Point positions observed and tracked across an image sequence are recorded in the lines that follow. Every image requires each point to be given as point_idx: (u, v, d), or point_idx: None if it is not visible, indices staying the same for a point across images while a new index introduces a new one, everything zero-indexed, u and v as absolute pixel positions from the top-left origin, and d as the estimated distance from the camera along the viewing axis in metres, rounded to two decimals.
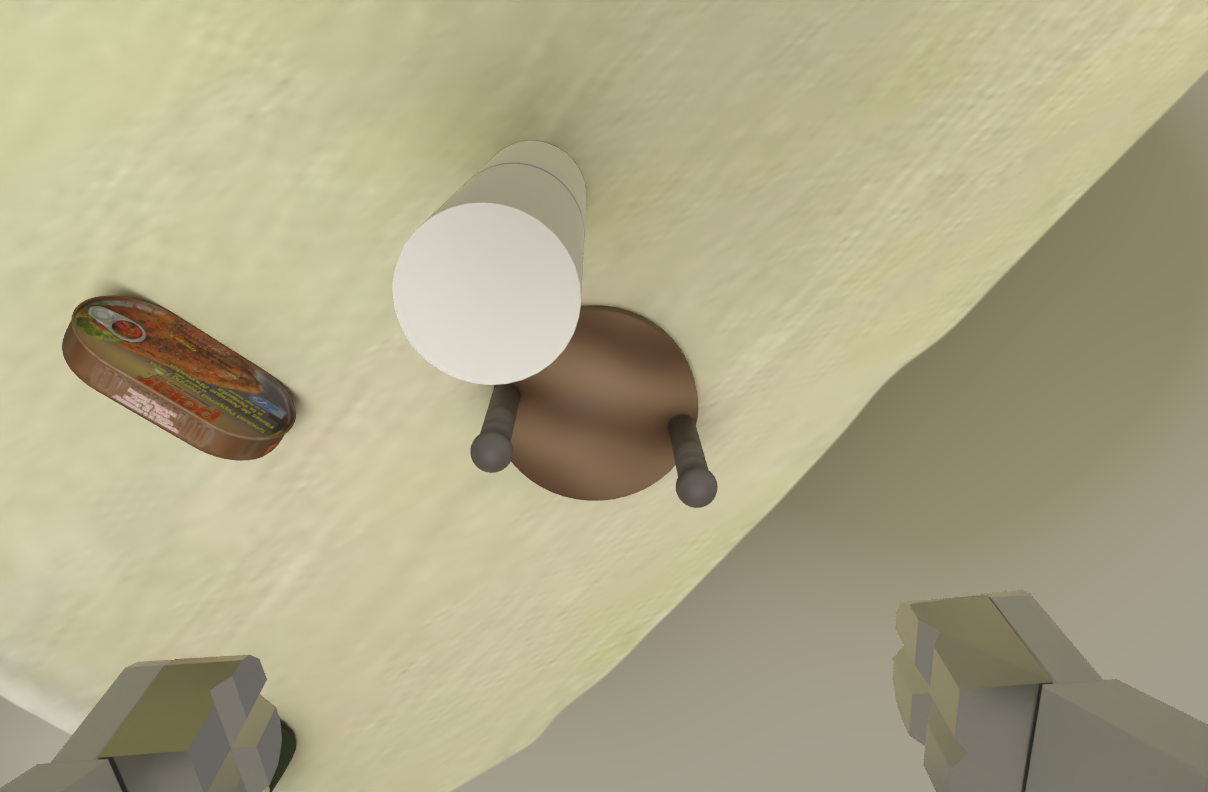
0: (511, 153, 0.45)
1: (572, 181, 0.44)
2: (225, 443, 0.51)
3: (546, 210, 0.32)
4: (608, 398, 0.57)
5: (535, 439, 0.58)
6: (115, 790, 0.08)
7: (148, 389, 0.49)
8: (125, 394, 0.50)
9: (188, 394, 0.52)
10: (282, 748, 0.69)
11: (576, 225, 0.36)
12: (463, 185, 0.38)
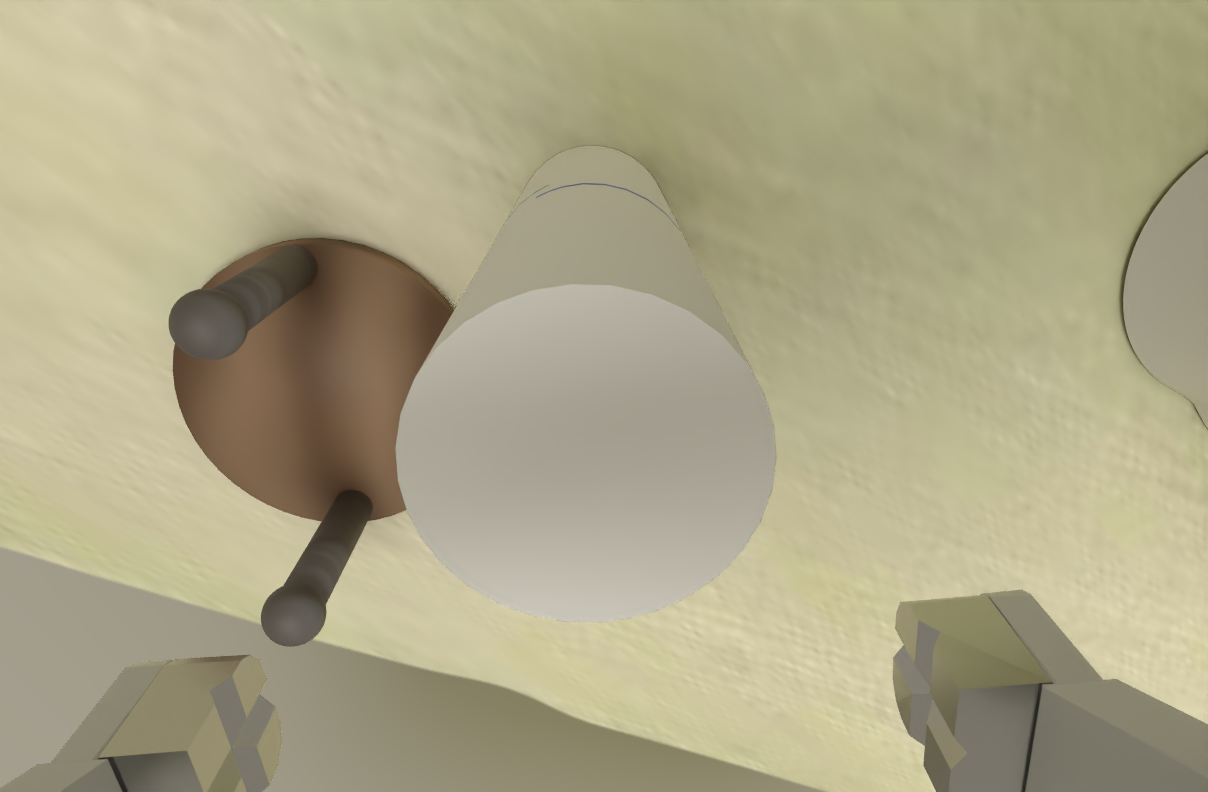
0: None
1: None
2: None
3: None
4: (352, 405, 0.40)
5: None
6: (115, 790, 0.08)
7: None
8: None
9: None
10: None
11: None
12: (659, 216, 0.23)
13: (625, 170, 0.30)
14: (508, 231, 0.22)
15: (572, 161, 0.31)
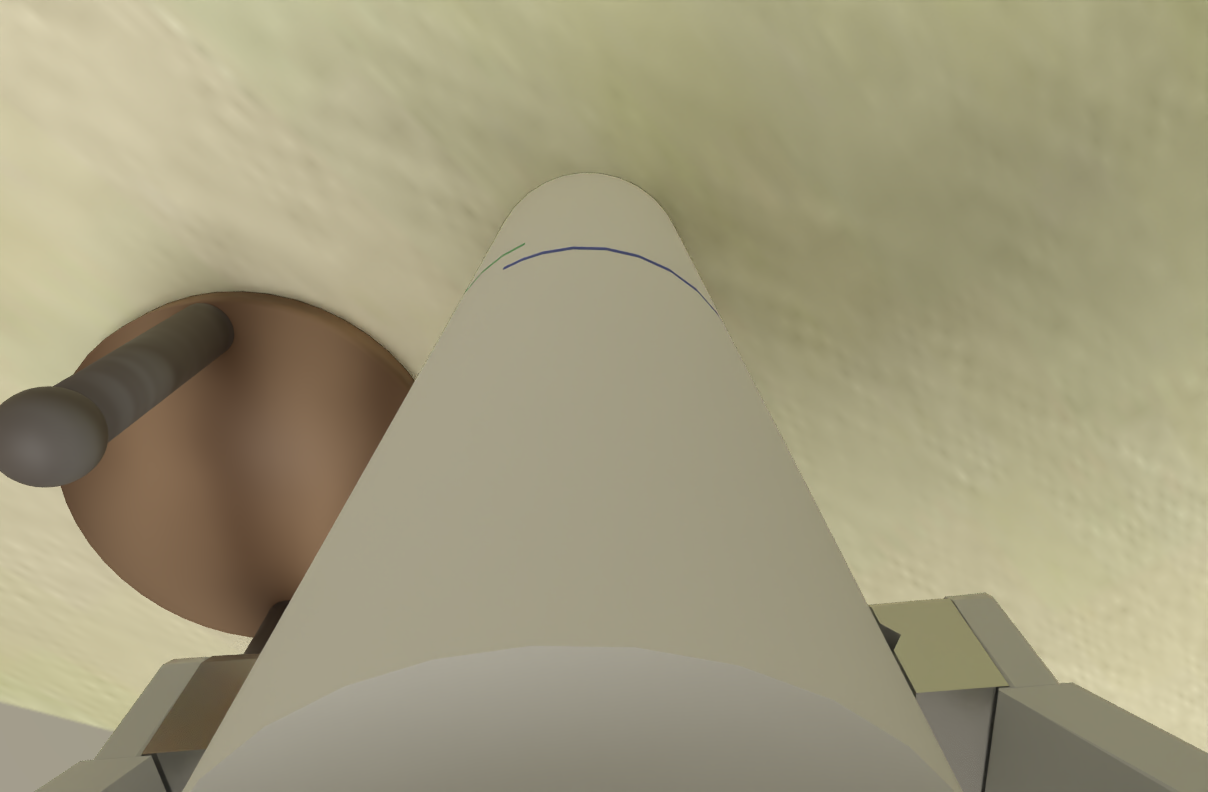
0: (701, 280, 0.22)
1: None
2: None
3: None
4: (286, 500, 0.32)
5: None
6: (158, 787, 0.08)
7: None
8: None
9: None
10: None
11: None
12: (691, 306, 0.15)
13: (633, 214, 0.22)
14: (452, 340, 0.13)
15: (560, 200, 0.23)
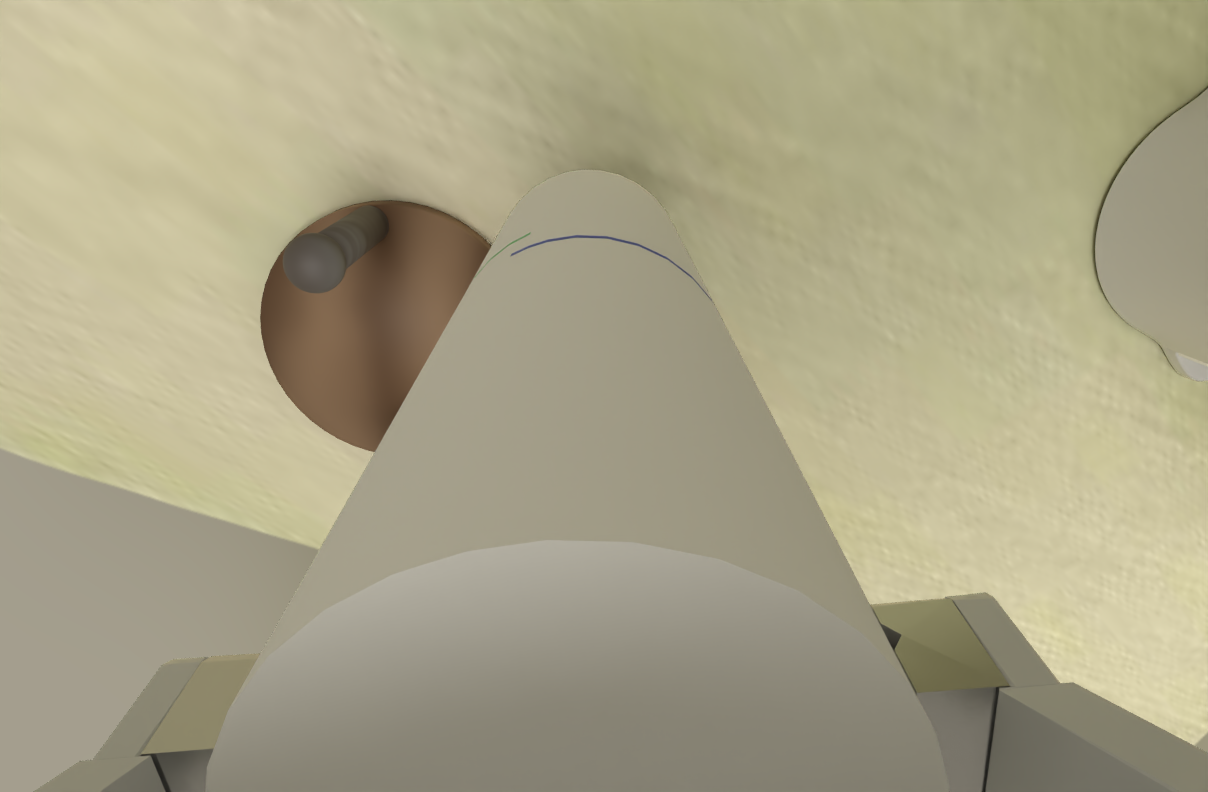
0: None
1: None
2: None
3: None
4: (416, 348, 0.45)
5: None
6: (157, 787, 0.08)
7: None
8: None
9: None
10: None
11: None
12: (687, 290, 0.16)
13: (633, 208, 0.23)
14: (465, 317, 0.15)
15: (563, 194, 0.24)
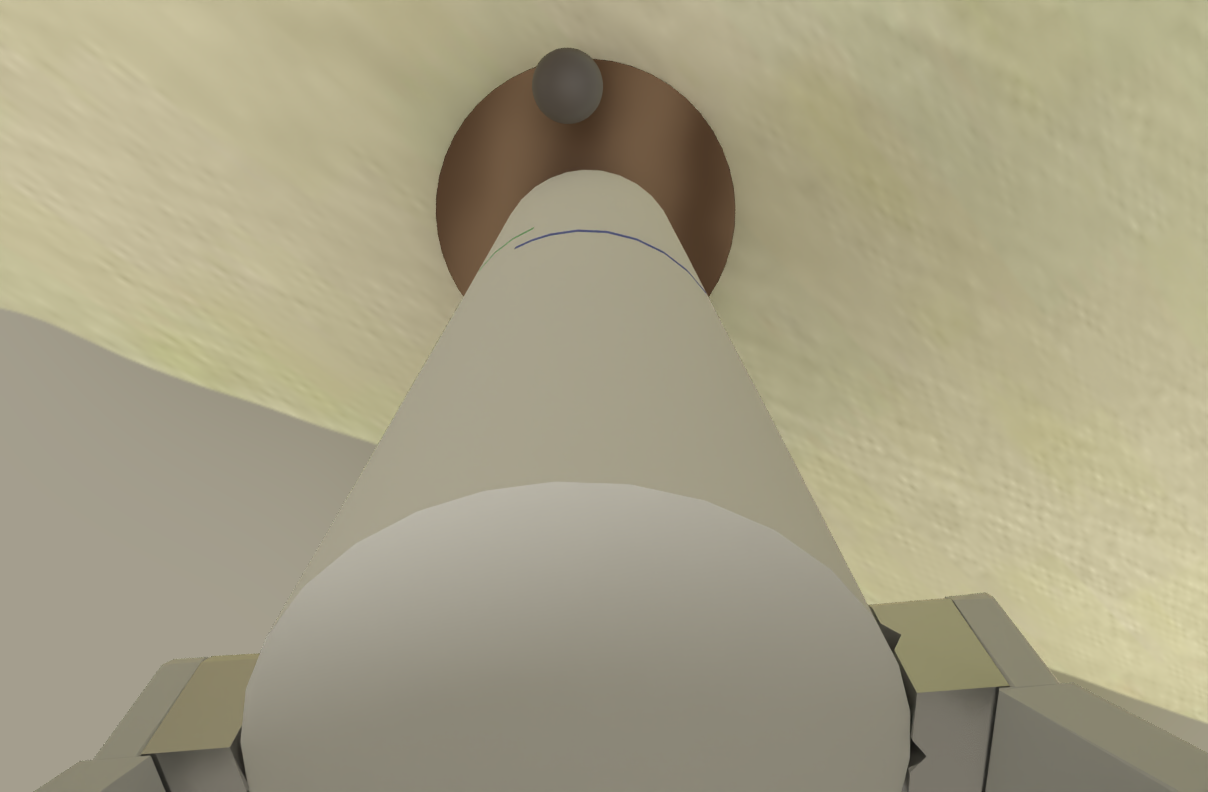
0: None
1: None
2: None
3: None
4: None
5: (514, 145, 0.38)
6: (158, 787, 0.08)
7: None
8: None
9: None
10: None
11: None
12: (682, 281, 0.17)
13: (632, 206, 0.24)
14: (472, 304, 0.15)
15: (565, 192, 0.25)
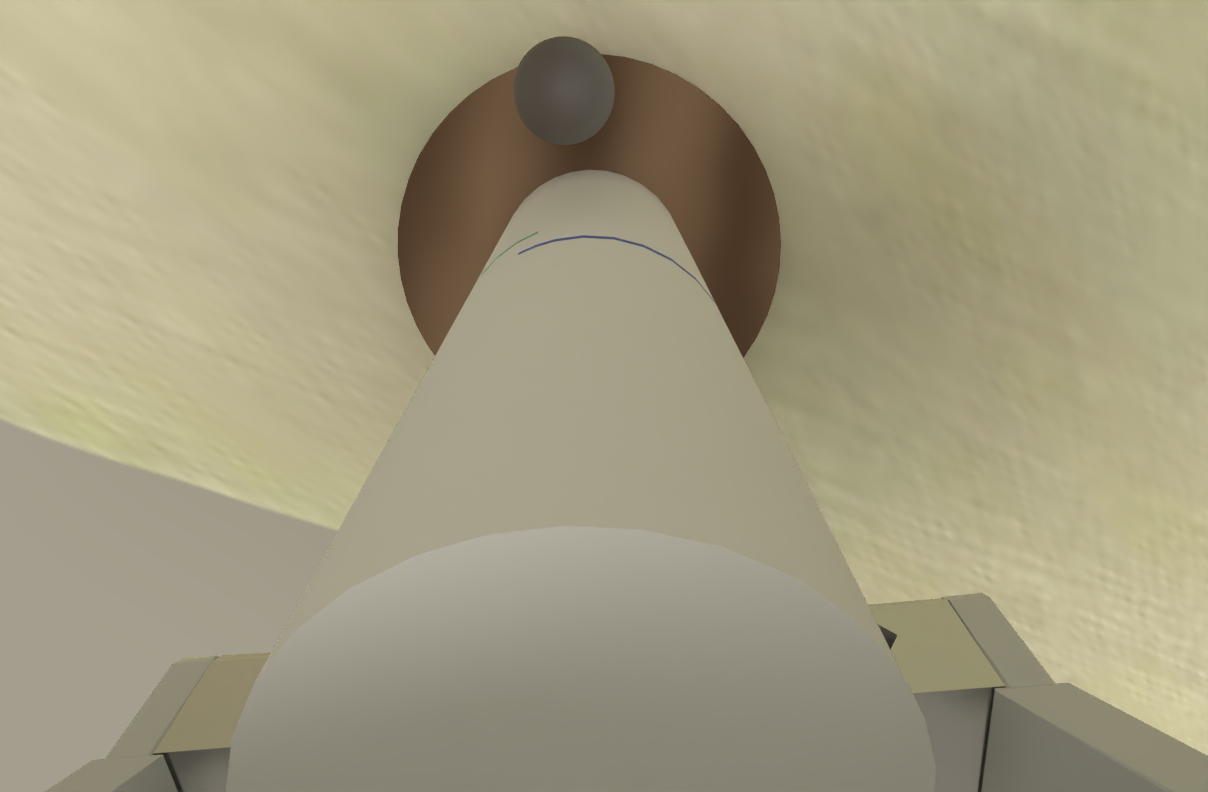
0: None
1: None
2: None
3: None
4: None
5: (497, 166, 0.30)
6: (170, 786, 0.08)
7: None
8: None
9: None
10: None
11: None
12: (690, 291, 0.16)
13: (638, 209, 0.23)
14: (474, 314, 0.15)
15: (569, 194, 0.24)
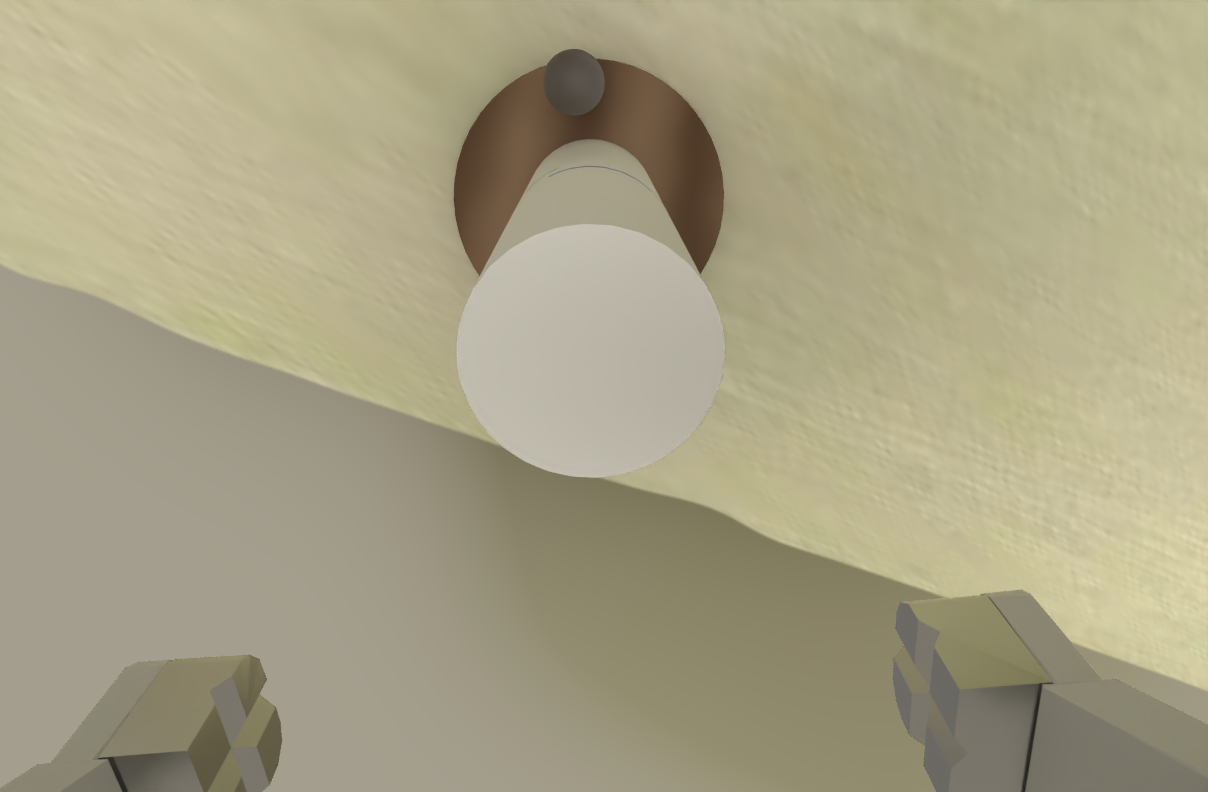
0: None
1: None
2: None
3: None
4: None
5: (525, 136, 0.43)
6: (115, 790, 0.08)
7: None
8: None
9: None
10: None
11: None
12: (647, 192, 0.29)
13: (620, 158, 0.36)
14: (529, 199, 0.28)
15: (576, 150, 0.37)
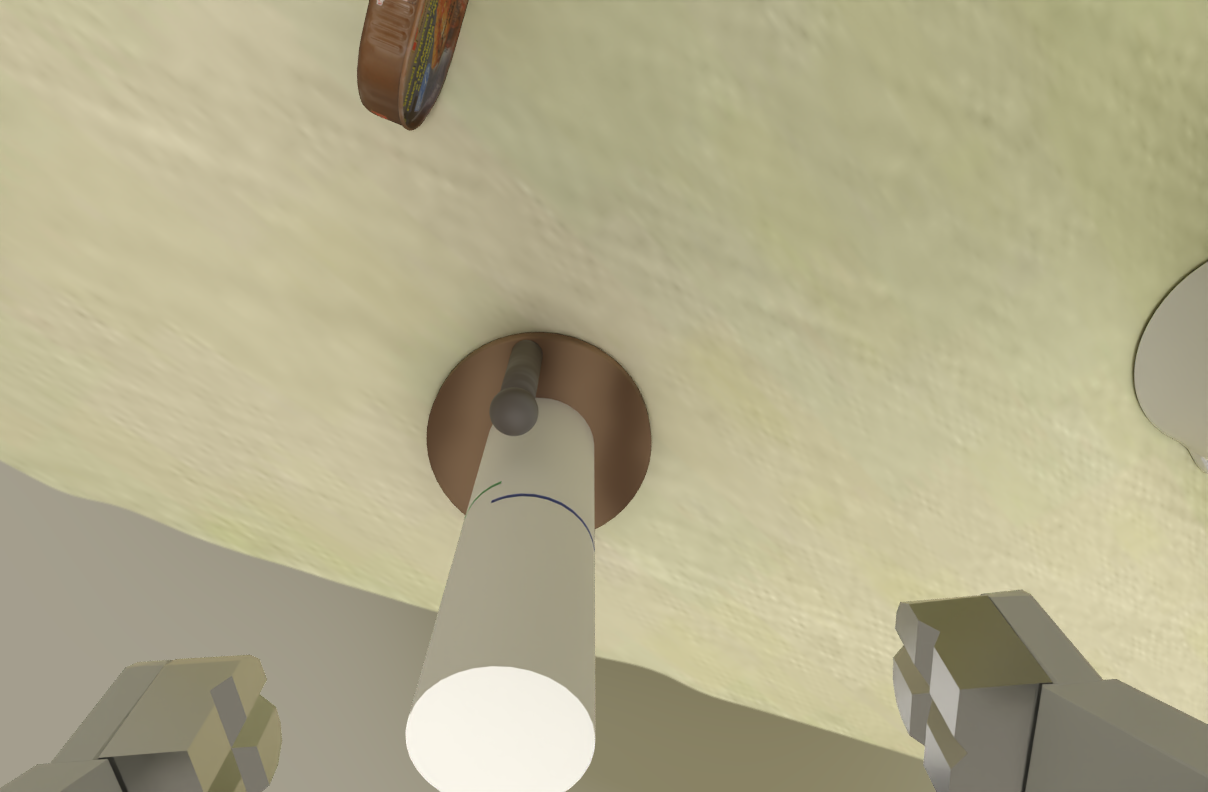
0: (588, 482, 0.45)
1: None
2: (385, 72, 0.38)
3: None
4: None
5: (484, 396, 0.52)
6: (115, 790, 0.08)
7: None
8: None
9: (427, 0, 0.38)
10: None
11: None
12: (563, 530, 0.38)
13: (555, 451, 0.45)
14: (471, 548, 0.37)
15: (521, 437, 0.46)
